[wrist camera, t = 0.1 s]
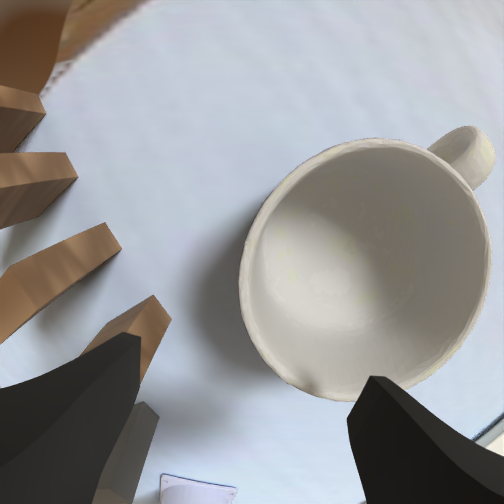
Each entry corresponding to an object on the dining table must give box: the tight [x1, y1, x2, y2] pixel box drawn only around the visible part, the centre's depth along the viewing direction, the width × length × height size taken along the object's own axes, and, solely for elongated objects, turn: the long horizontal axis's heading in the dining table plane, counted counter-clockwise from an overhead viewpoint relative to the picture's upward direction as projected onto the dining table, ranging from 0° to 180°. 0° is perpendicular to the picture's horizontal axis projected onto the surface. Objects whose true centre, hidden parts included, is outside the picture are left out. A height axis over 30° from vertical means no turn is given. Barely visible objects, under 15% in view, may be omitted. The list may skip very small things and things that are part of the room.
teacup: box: [238, 126, 496, 402], centre depth 14 cm, size 14×11×8 cm
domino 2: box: [0, 152, 78, 229], centre depth 12 cm, size 2×5×9 cm, turn 121°
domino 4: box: [79, 295, 171, 384], centre depth 15 cm, size 2×5×9 cm, turn 121°
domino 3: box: [0, 222, 122, 344], centre depth 14 cm, size 2×5×9 cm, turn 121°
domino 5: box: [92, 401, 159, 504], centre depth 17 cm, size 2×5×9 cm, turn 121°
